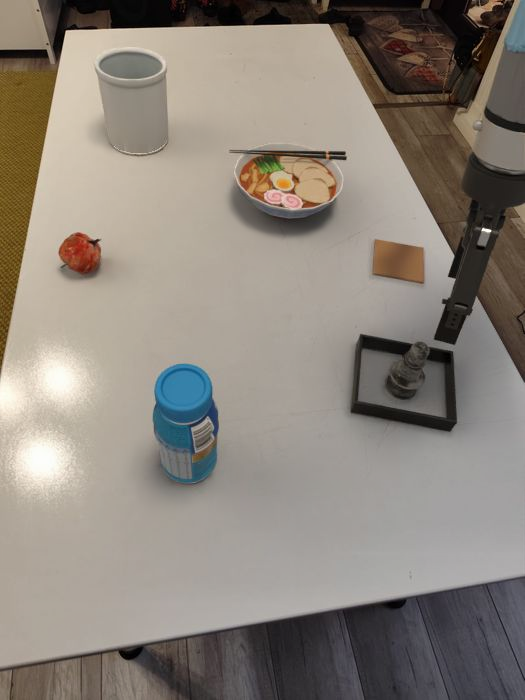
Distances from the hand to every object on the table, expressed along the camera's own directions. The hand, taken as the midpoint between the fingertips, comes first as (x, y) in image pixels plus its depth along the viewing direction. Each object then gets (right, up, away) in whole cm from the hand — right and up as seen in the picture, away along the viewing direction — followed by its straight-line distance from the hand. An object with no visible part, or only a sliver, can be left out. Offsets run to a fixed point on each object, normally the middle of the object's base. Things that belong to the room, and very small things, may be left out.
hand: (451, 307), depth 71 cm
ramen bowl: (-21, +26, +42) cm, 54 cm away
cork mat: (+2, +12, +34) cm, 36 cm away
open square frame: (-3, -12, +16) cm, 20 cm away
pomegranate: (-59, +10, +26) cm, 66 cm away
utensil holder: (-55, +44, +52) cm, 87 cm away
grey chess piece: (-3, -12, +16) cm, 20 cm away
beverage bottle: (-36, -22, +6) cm, 43 cm away
